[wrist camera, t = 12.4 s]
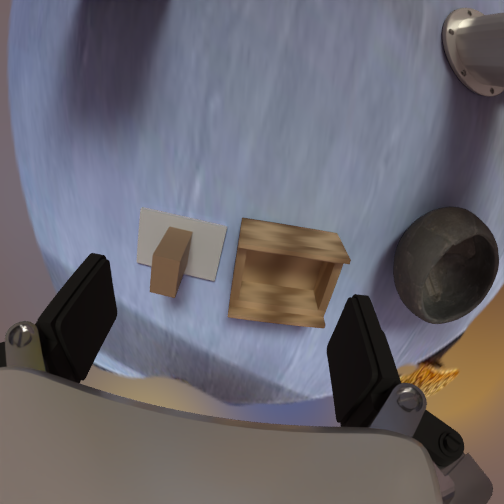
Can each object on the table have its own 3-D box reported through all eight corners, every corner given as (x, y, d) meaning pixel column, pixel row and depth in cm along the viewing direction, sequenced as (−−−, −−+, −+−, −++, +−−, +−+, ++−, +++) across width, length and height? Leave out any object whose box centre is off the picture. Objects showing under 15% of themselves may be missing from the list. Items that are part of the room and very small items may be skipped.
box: (337, 233, 37) (350, 260, 31) (316, 296, 42) (324, 328, 36) (242, 217, 36) (239, 243, 31) (231, 284, 41) (227, 317, 35)
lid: (227, 225, 37) (220, 258, 30) (215, 277, 41) (207, 315, 34) (142, 206, 36) (118, 233, 29) (138, 259, 40) (118, 293, 33)
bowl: (365, 227, 37) (394, 269, 28) (454, 175, 32) (499, 203, 24) (396, 302, 43) (420, 348, 34) (472, 257, 38) (505, 293, 30)
